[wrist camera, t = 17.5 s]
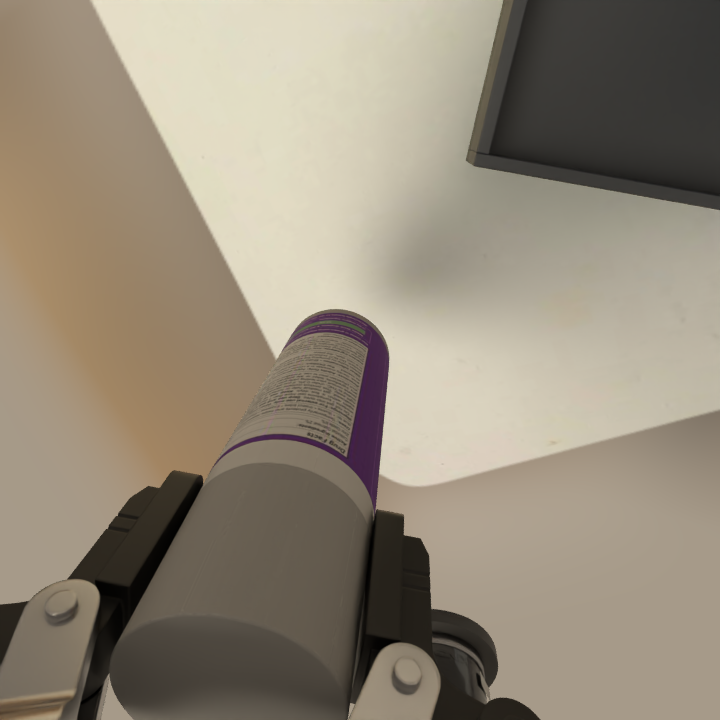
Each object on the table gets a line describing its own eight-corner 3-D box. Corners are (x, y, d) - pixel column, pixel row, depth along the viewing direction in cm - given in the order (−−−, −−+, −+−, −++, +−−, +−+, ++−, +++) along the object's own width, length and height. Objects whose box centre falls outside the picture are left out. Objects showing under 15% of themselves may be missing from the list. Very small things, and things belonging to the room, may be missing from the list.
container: (381, 409, 23) (339, 790, 10) (284, 393, 24) (112, 748, 10) (397, 317, 21) (373, 636, 8) (291, 301, 22) (87, 586, 8)
